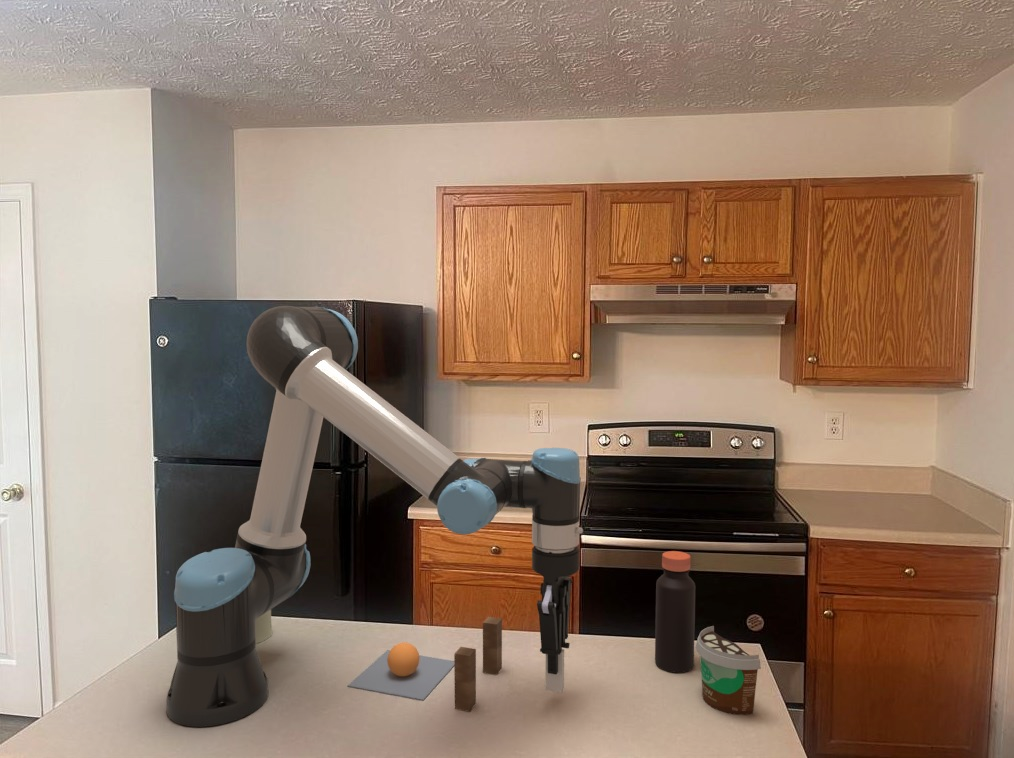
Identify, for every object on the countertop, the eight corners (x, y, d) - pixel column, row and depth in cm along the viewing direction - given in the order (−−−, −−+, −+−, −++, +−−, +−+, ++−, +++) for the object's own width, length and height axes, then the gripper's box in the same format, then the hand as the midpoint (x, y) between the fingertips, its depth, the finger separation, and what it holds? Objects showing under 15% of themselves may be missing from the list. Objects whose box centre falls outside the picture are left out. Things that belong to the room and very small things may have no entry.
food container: (679, 688, 120) (680, 630, 119) (710, 681, 122) (711, 624, 122) (726, 726, 109) (728, 662, 108) (759, 718, 111) (761, 655, 110)
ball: (389, 644, 122) (416, 662, 120) (403, 631, 127) (429, 648, 126) (376, 670, 123) (403, 688, 121) (391, 656, 128) (417, 674, 127)
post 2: (482, 672, 125) (482, 622, 125) (488, 665, 128) (488, 616, 127) (496, 674, 124) (496, 624, 124) (501, 668, 127) (501, 618, 126)
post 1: (454, 708, 113) (454, 653, 113) (460, 700, 116) (460, 646, 115) (469, 711, 113) (469, 656, 112) (475, 703, 115) (475, 649, 114)
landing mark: (347, 686, 120) (347, 685, 120) (387, 651, 134) (387, 650, 134) (423, 700, 116) (423, 699, 116) (457, 662, 129) (457, 661, 129)
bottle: (698, 673, 125) (700, 561, 124) (659, 673, 125) (661, 561, 124) (688, 655, 132) (690, 549, 130) (651, 655, 132) (653, 549, 130)
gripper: (568, 561, 107) (567, 713, 108) (587, 537, 119) (586, 674, 121) (520, 555, 109) (520, 705, 111) (544, 532, 121) (543, 667, 123)
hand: (554, 689), depth 116 cm, fingers closed
